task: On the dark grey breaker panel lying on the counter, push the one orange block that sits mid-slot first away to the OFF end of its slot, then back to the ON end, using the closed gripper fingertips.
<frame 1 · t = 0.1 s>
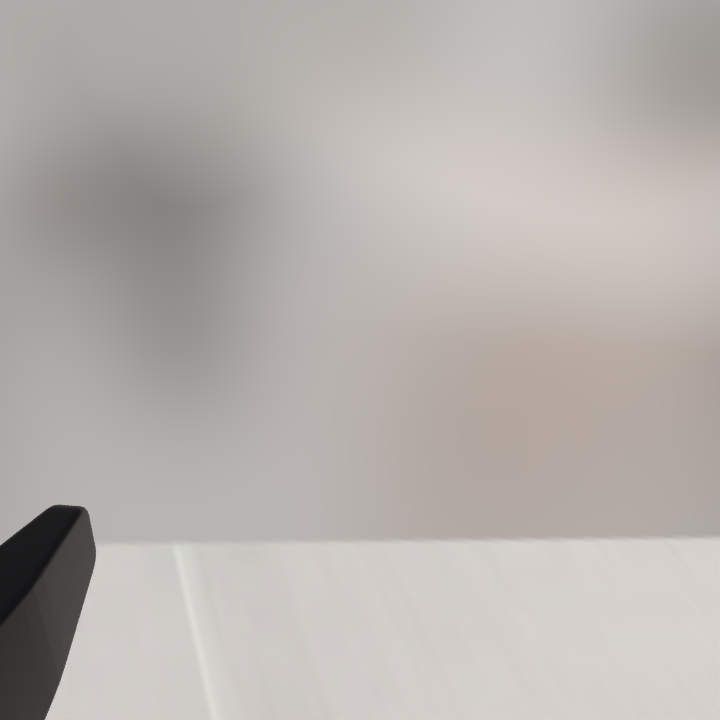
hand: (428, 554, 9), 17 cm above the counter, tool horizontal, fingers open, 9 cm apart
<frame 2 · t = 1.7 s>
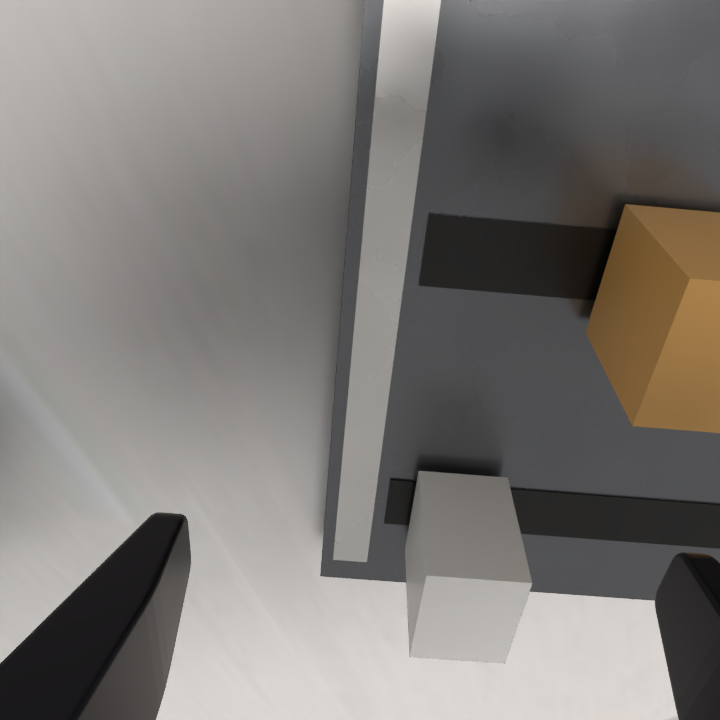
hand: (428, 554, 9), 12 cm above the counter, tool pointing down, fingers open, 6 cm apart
grey small block: (452, 506, 22), resting on panel
panel: (628, 239, 19), on the counter
orange block: (688, 315, 16), point 4 cm above the counter, slide at 0.0 cm
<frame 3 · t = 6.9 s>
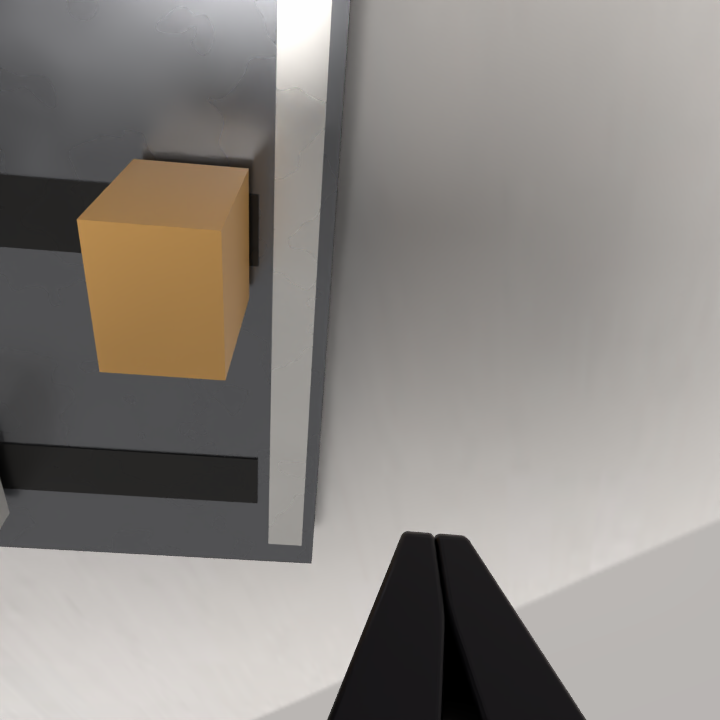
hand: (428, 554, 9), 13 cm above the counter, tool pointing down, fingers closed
panel: (57, 188, 19), on the counter
orange block: (177, 265, 16), point 4 cm above the counter, slide at -4.4 cm
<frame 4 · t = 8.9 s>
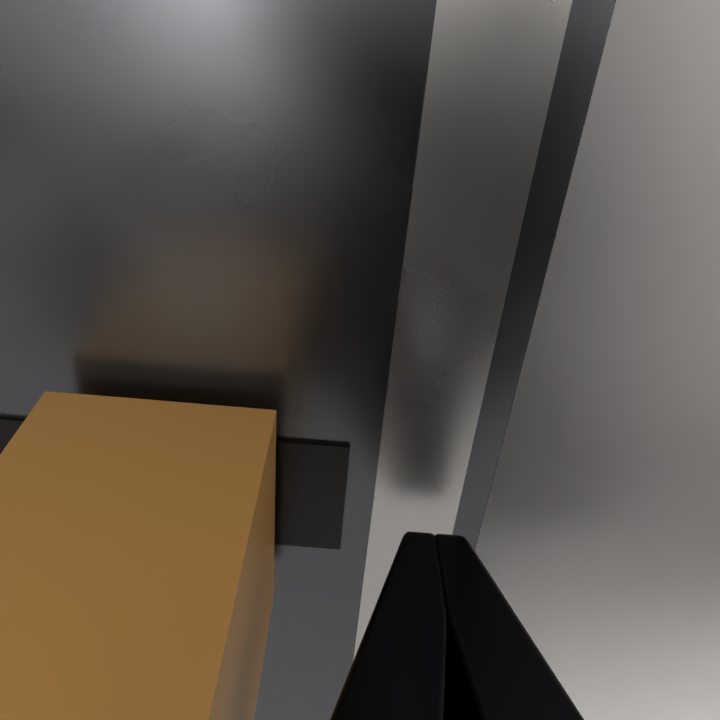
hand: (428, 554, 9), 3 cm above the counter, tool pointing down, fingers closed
orange block: (124, 637, 8), point 4 cm above the counter, slide at -3.6 cm, touching gripper
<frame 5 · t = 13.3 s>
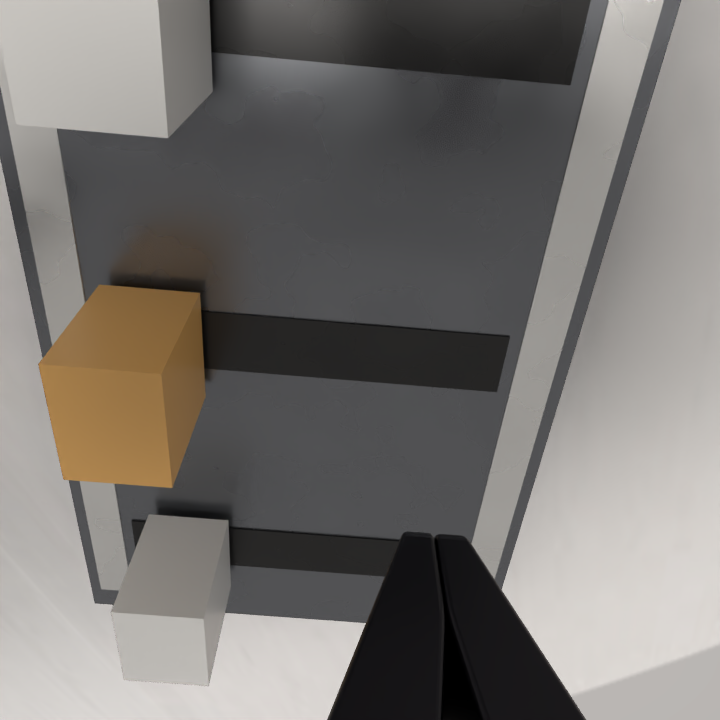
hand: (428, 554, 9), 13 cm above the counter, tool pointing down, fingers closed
grey small block: (194, 543, 25), resting on panel
panel: (310, 315, 22), on the counter
orange block: (134, 382, 18), point 4 cm above the counter, slide at 4.4 cm
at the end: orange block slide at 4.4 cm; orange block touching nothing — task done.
